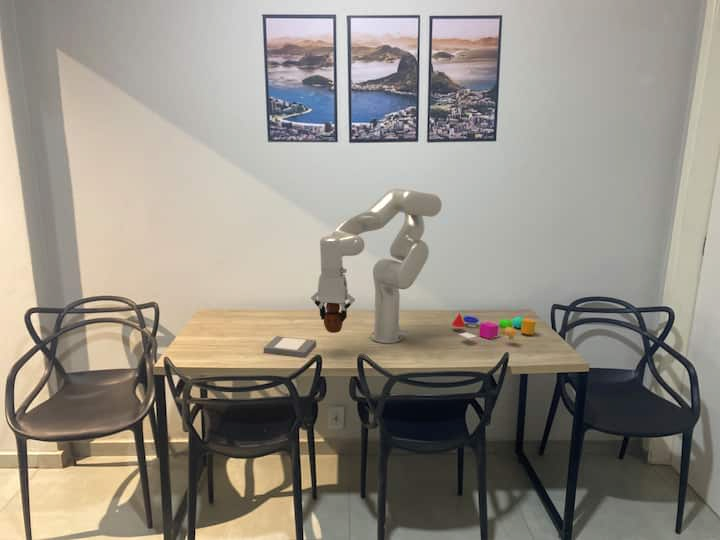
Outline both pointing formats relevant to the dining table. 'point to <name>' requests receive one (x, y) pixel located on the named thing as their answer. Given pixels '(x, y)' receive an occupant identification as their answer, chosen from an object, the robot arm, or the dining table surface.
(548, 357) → the dining table surface
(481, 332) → the shape set
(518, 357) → the dining table surface
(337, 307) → the wooden figurine
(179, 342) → the dining table surface
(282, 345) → the display base
